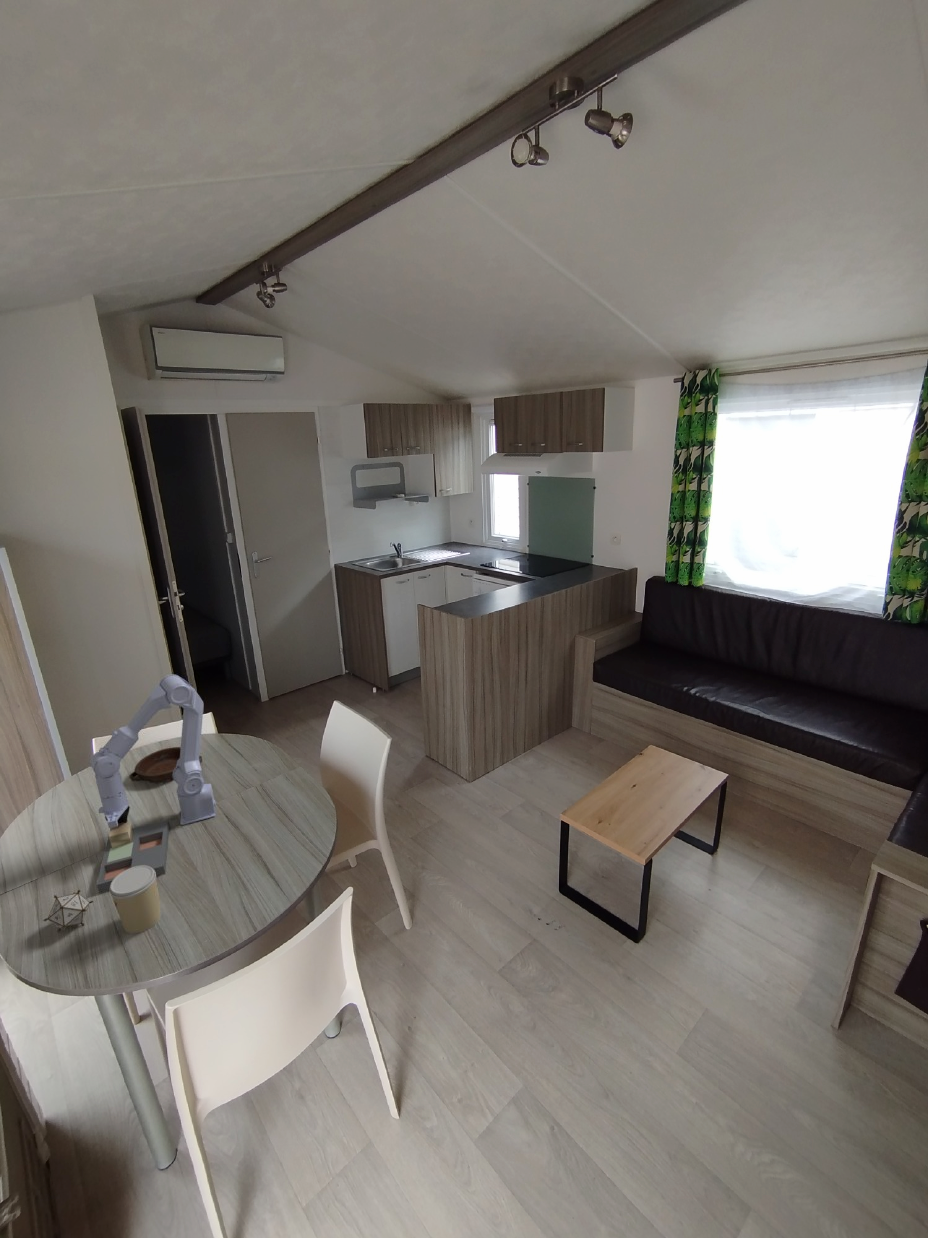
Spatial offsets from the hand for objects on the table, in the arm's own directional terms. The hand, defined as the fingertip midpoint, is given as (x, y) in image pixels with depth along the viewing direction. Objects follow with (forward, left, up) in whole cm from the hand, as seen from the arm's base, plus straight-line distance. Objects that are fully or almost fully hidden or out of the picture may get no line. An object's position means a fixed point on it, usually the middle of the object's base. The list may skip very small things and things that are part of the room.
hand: (122, 833), depth 157 cm
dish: (-9, -35, -4) cm, 37 cm away
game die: (+8, +27, -4) cm, 28 cm away
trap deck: (-4, +8, -3) cm, 9 cm away
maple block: (0, +2, -1) cm, 2 cm away
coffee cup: (-7, +33, -4) cm, 34 cm away
